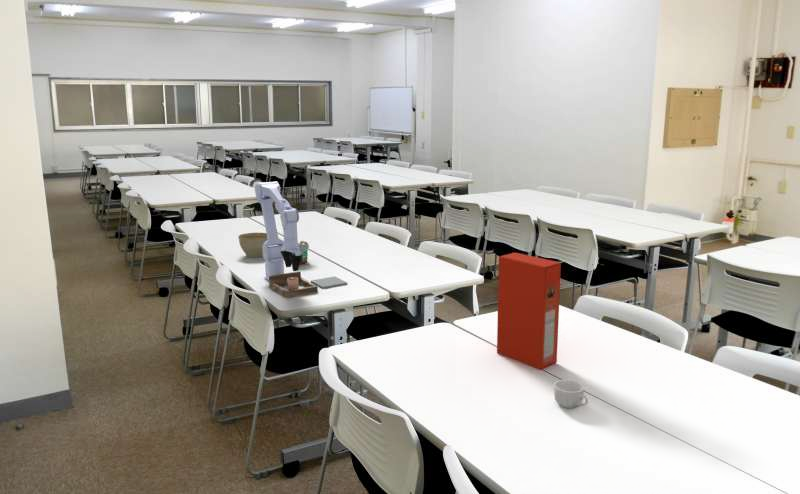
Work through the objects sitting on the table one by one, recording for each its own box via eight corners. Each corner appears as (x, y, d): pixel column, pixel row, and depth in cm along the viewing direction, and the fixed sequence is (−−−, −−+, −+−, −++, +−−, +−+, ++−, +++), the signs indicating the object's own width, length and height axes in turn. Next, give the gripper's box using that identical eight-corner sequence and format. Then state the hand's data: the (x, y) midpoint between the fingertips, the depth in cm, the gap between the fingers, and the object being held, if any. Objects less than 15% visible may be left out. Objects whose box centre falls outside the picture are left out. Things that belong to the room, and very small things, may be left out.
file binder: (540, 370, 191) (544, 267, 184) (496, 353, 204) (498, 256, 197) (556, 363, 196) (561, 262, 189) (512, 347, 209) (515, 252, 202)
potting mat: (310, 282, 285) (310, 280, 285) (335, 278, 292) (334, 276, 291) (322, 288, 276) (322, 286, 275) (347, 284, 282) (347, 282, 282)
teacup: (546, 403, 171) (547, 384, 170) (566, 395, 176) (567, 377, 174) (576, 417, 163) (578, 398, 162) (596, 409, 168) (597, 390, 166)
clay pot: (286, 289, 275) (285, 277, 274) (296, 287, 278) (295, 276, 277) (290, 291, 272) (289, 280, 271) (300, 290, 274) (299, 278, 273)
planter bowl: (276, 256, 333) (275, 235, 330) (246, 261, 324) (245, 240, 322) (264, 250, 346) (262, 230, 343) (235, 254, 337) (233, 234, 334)
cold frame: (269, 287, 279) (268, 276, 277) (300, 281, 286) (299, 271, 285) (285, 297, 263) (285, 286, 262) (317, 292, 271) (317, 280, 270)
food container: (304, 266, 312) (303, 246, 310) (292, 266, 313) (291, 246, 311) (313, 260, 324) (312, 241, 321) (301, 260, 325) (300, 240, 322)
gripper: (275, 235, 273) (276, 266, 277) (288, 241, 261) (290, 274, 265) (290, 233, 277) (292, 264, 280) (304, 239, 265) (305, 271, 268)
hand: (292, 268), depth 273 cm, fingers open, 7 cm apart
